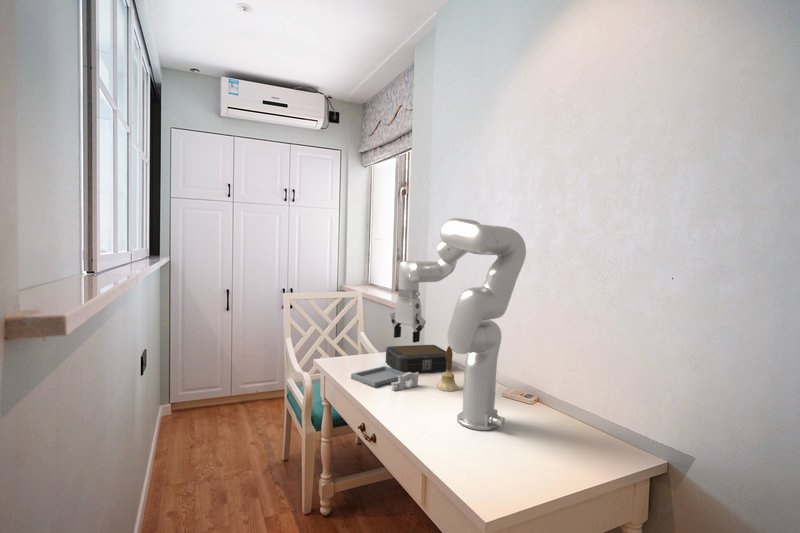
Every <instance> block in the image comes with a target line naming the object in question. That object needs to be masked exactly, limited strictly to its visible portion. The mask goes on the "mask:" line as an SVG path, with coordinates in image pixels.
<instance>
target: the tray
mask: <svg viewBox="0 0 800 533" xmlns="http://www.w3.org/2000/svg"><path fill="white" fill-rule="evenodd" d="M403 374H405V373H404V372H401V371H398V370H395V369H392V368H391V367H390V366H386V365H383V366H379V367H378V366H377V367H373V368H371V369H370V368H369V369H366V370H362V371H357V372H353V373H351V374H350V379H351V380H353V379H354V380H353V381H356V382H358V381H359V383H360V384H363V383H364V385H366V386H369V387H371V388H374V389H376V388H380V387H383V386H386V385H390V384H391V382H397V381H398V376H399V375H403ZM391 385H392V384H391Z"/></svg>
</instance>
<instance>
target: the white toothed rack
mask: <svg viewBox="0 0 800 533" xmlns="http://www.w3.org/2000/svg"><path fill="white" fill-rule="evenodd" d="M419 375H420V373H418V372H416V373H411V372H407V373H405V374H403V375H399V376H398V381H397V382H391V390H392V391H393V392H394V391H399V390H403V389H410V388H411V389H412V388H413V387H418V386H419Z"/></svg>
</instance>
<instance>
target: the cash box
mask: <svg viewBox="0 0 800 533" xmlns="http://www.w3.org/2000/svg"><path fill="white" fill-rule="evenodd" d="M446 351H447V350H444V349H443V348H441V347H439V346H437V345H435V344H418V345H417V344H416V345H415V344H414V345H413V344H412V345H397V346H395V345H391V346H390V345H389V346H386V349H385V364H386V363H387V364H386V365H388V367H389V368H392V369H395V370H398V371H401V372H404V373H407V372H411V373H416V372H418V373H419V374H432V373H433V374H434V373H444V372H446V367H447V361H446ZM452 367H453V360H452V361H451V371H452V370H453V369H452Z"/></svg>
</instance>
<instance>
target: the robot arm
mask: <svg viewBox="0 0 800 533" xmlns="http://www.w3.org/2000/svg"><path fill="white" fill-rule="evenodd" d="M439 234H440V241H439V242H438V243H437V246H436V250H437V251H436V252H437V254H438V256H439V257H440V258H439V259H437V260H436V261H428V260H427V261H425V260H423V261H421V260H420V261H419V260H417V261H416V260H415V261H413V260H403V261H400V262H399V271H398V288H397V289H398V295H397V297H396V302H395V308H394V309H395V310H394V312H391V313H390V315H389V316H390V319H391V321H390V322H391V323H392V327H393V338H394V339H395V338H396V339H398V338H400V337H402V326H401V325H405V326H411V327H412V329H413V331H412V343H419V342H421V340H420V338H421V332H422V330H423V329H424V328H425V325H426V323H427V321H426V319H424V317H422V304H421V298H420V297H419V296H421V294H420V292H419V291H420V290H419V289H420V283H437V282H441V281H443V280H444V279H446V278H447V277H449V275H451V274H452V273H453V272H454V271H455V269H456V266H457V263H458V262H457V261H458V260H459V259H461V258H462V257H464V256H465V255H466V254H467V253H470V254H474V255H479V256H483V255H484V256H497V258H496V260H495V261H494V262H493V263H492V265H491V266H490V267H489V269H488V270H487V273H486V277H485V280H484V282H483V285H482V286H479V287H477V286H476V287H470V288H467V289H465V290H464V291H462V292H461V294H460V295H459V296H458V298H457V300H456V303H455V305H454V306H455V307H454V310H453V314H452V317H451V320H450V323H449V327H448V330H447V342H448V346H450V348H451V350H452V352H453V353H456V354H458V355H466V358H465V362H464V374H463V375H464V377H463V394H462V395H463V397H462V398H463V399H462V411H461V412H459V413H458V414H457V416H456V421H457V423H459V425H461V426H462V427H465V428H468V429H471V430H476V431H491V430H494V429H497V428H498V427H500V428H503V427H504V425H505V417H503V416H501V415H499V414H498V409H496V408H495V406H496V404H495V403H496V402H495V401H496V382H497V368H498V358H499V357H498V356H499V351H500V347H501V344H502V331H501V328H500V326H499V325H498V323H497V322H495V321H493V320H496V319H499V318H501V317H503V316H504V315H505V313H506V311H507V309H508V307H509V304H510V301H511V298H512V295H513V293H514V289H515V286H516V283H517V280H518V277H519V275H520V272H521V271H522V268H523V266H524V263H525V260H526V256H527V247H526V241H525V240H524V238H523V236H522V235H521V234H520V233H519V232H518V231H516V230H515V229H513V228H510V227H506V226H499V225H491V224H490V225H489V224H488V225H487V224H481V223H480V222H478V221H477V220H474V219H468V218H460V217H459V218H458V217H454V218H450V219H448V220H446V221H444V223H443V224H442V226H441V228H440V233H439Z"/></svg>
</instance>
